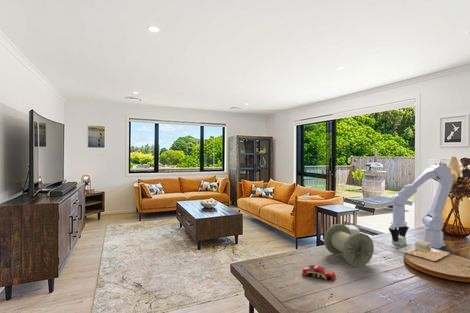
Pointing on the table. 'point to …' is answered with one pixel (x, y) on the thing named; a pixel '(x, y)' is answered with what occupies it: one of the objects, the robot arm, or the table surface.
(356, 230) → the ink box
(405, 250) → the baseplate
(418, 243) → the maple block
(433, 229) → the robot arm
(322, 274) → the race car
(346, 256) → the spool
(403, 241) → the sage block
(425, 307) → the table surface
